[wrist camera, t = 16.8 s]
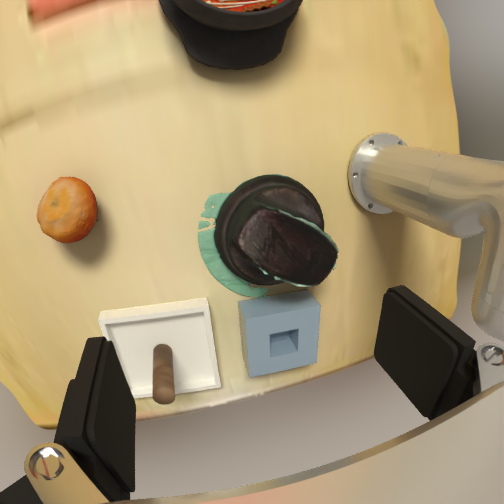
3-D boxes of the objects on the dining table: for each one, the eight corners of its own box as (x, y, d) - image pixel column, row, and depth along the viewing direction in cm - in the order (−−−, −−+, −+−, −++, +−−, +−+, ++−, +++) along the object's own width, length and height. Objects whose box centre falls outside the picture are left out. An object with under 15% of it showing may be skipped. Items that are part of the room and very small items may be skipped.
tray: (206, 297, 46) (208, 305, 44) (218, 377, 52) (221, 387, 50) (100, 310, 43) (98, 320, 41) (128, 388, 49) (127, 398, 47)
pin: (170, 342, 47) (172, 387, 38) (173, 357, 48) (177, 403, 39) (151, 345, 46) (150, 390, 37) (155, 360, 47) (155, 405, 38)
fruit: (71, 258, 38) (37, 250, 30) (56, 208, 39) (23, 192, 31) (119, 231, 39) (91, 216, 31) (101, 180, 40) (74, 157, 32)
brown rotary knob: (353, 195, 46) (390, 210, 38) (297, 308, 51) (320, 341, 43) (234, 137, 40) (250, 138, 31) (178, 272, 44) (180, 305, 36)
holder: (307, 289, 50) (320, 305, 45) (305, 345, 54) (316, 362, 49) (238, 301, 48) (245, 319, 43) (243, 358, 52) (249, 377, 47)
